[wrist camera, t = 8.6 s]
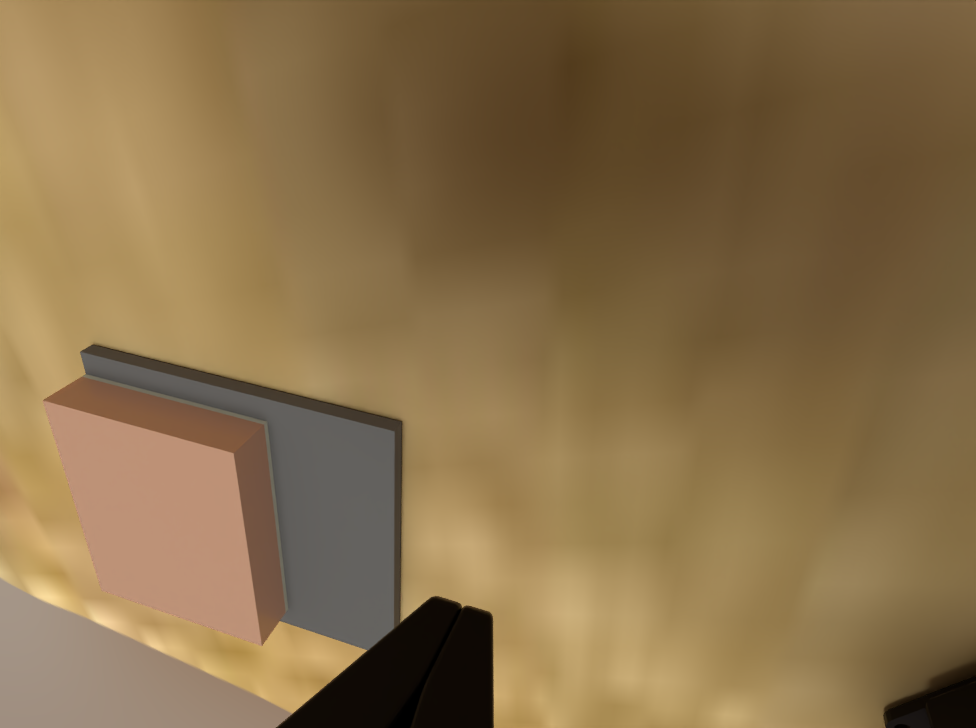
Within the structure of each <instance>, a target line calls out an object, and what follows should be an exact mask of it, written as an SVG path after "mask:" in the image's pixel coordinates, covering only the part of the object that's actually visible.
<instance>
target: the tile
mask: <svg viewBox="0 0 976 728" xmlns="http://www.w3.org/2000/svg"><path fill="white" fill-rule="evenodd" d="M43 403H44V406H45V410H46V413H47V416H48V419H49V423H50V426H51V429H52V432H53V436H54V439H55V442H56V445H57V448H58V452H59V455H60V458H61V461H62V465H63V468H64V471H65V474H66V477H67V481H68V484H69V487H70V490H71V494H72V497H73V500H74V503H75V507H76V510H77V513H78V516H79V519H80V523H81V526H82V529H83V532H84V536H85V539H86V542H87V545H88V548H89V552H90V555H91V558H92V561H93V565H94V568H95V571H96V574H97V578H98V581H99V584H100V587H101V590H102V591H104V592H107V593H110V594H113V595H116V596H119V597H122V598H124V599H127V600H130V601H133V602H136V603H139V604H142V605H145V606H148V607H151V608H153V609H156V610H159V611H162V612H165V613H168V614H171V615H174V616H177V617H179V618H182V619H185V620H188V621H191V622H194V623H197V624H200V625H203V626H205V627H208V628H211V629H214V630H217V631H220V632H223V633H226V634H229V635H231V636H234V637H237V638H240V639H243V640H246V641H249V642H252V643H255V644H258V645H260V646H262V645H263V644H264V642H265V641H266V640H267V638H268V637H269V635H270V634H271V632H272V631H273V630H274V628H275V627H276V625H277V624H278V623H279V621H280V620H281V618H282V617H283V616H284V614H285V613H286V611H287V610H288V602H287V593H286V584H285V575H284V567H283V558H282V549H281V540H280V531H279V522H278V513H277V504H276V495H275V486H274V477H273V468H272V459H271V451H270V442H269V433H268V424H267V421H263V420H259V419H255V418H252V417H248V416H244V415H240V414H236V413H233V412H229V411H225V410H221V409H217V408H213V407H210V406H206V405H202V404H198V403H194V402H191V401H187V400H183V399H179V398H175V397H171V396H168V395H164V394H160V393H156V392H152V391H148V390H145V389H141V388H137V387H133V386H129V385H126V384H122V383H118V382H114V381H110V380H106V379H103V378H99V377H95V376H91V375H87V374H85V375H84V376H82V377H81V378H79V379H77V380H76V381H74V382H72V383H71V384H69V385H67V386H66V387H64V388H62V389H61V390H59V391H57V392H56V393H54V394H52V395H51V396H49V397H47V398H46V399H44V400H43Z"/></svg>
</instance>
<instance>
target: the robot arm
mask: <svg viewBox="0 0 976 728" xmlns="http://www.w3.org/2000/svg"><path fill="white" fill-rule="evenodd" d="M883 716H884V722H885V727H886V728H976V676H975V677H973V678H970V679H968V680H965V681H962V682H960V683H957V684H955V685H952V686H949V687H947V688H944V689H942V690H939V691H936V692H934V693H931V694H928V695H926V696H923V697H921V698H918V699H915V700H913V701H910V702H908V703H905V704H902V705H900V706H897V707H895V708H892V709H889V710H888V711H886V712H885V713H884V715H883ZM276 728H494V695H493V616H492V614H491V613H490V612H488V611H485V610H482V609H478V608H475V607H472V606H464V607H463V608H462V605H461V604H460V603H458V602H455V601H452V600H449V599H446V598H442V597H439V596H434V597H431V598H430V599H428V600H427V601H426V602H425V603H423V604H422V605H421V606H420V607H419V608H418V609H416V610H415V611H414V612H413V613H412V614H410V615H409V616H408V617H407V618H406V619H404V620H403V621H402V622H401V623H400V624H399V625H397V626H396V627H395V628H394V629H393V630H391V631H390V632H389V633H388V634H387V635H385V636H384V637H383V638H382V639H381V640H380V641H378V642H377V643H376V644H375V645H374V646H372V647H371V648H370V649H369V650H368V651H366V652H365V653H364V654H363V655H362V656H361V657H359V658H358V659H357V660H356V661H355V662H353V663H352V664H351V665H350V666H349V667H347V668H346V669H345V670H344V671H343V672H342V673H340V674H339V675H338V676H337V677H336V678H334V679H333V680H332V681H331V682H330V683H328V684H327V685H326V686H325V687H324V688H323V689H321V690H320V691H319V692H318V693H317V694H315V695H314V696H313V697H312V698H311V699H309V700H308V701H307V702H306V703H305V704H304V705H302V706H301V707H300V708H299V709H298V710H296V711H295V712H294V713H293V714H292V715H291V716H290V717H288V718H287V719H286V720H285V721H283V722H282V723H281V724H280V725H279V726H278V727H276Z"/></svg>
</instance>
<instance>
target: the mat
mask: <svg viewBox="0 0 976 728" xmlns="http://www.w3.org/2000/svg"><path fill="white" fill-rule="evenodd" d="M80 353H81V357H82V361H83V365H84V368H85V372H86V374H87V375H91V376H95V377H99V378H103V379H106V380H110V381H114V382H118V383H122V384H126V385H129V386H133V387H137V388H141V389H145V390H148V391H152V392H156V393H160V394H164V395H168V396H171V397H175V398H179V399H183V400H187V401H191V402H194V403H198V404H202V405H206V406H210V407H213V408H217V409H221V410H225V411H229V412H233V413H236V414H240V415H244V416H248V417H252V418H255V419H259V420H263V421H267V424H268V433H269V442H270V451H271V459H272V468H273V477H274V486H275V495H276V504H277V513H278V522H279V531H280V540H281V549H282V558H283V567H284V575H285V584H286V593H287V602H288V610H287V611H286V613H285V614H284V616H283V617H282V618H281V620H280V621H282V622H285V623H288V624H291V625H294V626H297V627H300V628H303V629H306V630H309V631H312V632H315V633H318V634H321V635H324V636H327V637H330V638H333V639H336V640H339V641H342V642H345V643H348V644H351V645H354V646H357V647H360V648H363V649H366V650H369V649H370V648H371V647H372V646H374V645H375V644H376V643H377V642H378V641H380V640H381V639H382V638H383V637H384V636H385V635H387V634H388V633H389V632H390V631H391V630H393V629H394V628H395V627H396V626H397V625H399V624H400V547H401V447H402V422H400V421H396V420H392V419H388V418H384V417H380V416H376V415H372V414H368V413H364V412H360V411H356V410H352V409H348V408H344V407H340V406H336V405H332V404H328V403H324V402H320V401H316V400H312V399H308V398H304V397H300V396H296V395H292V394H288V393H284V392H280V391H276V390H272V389H268V388H264V387H260V386H256V385H252V384H248V383H244V382H240V381H236V380H232V379H228V378H224V377H220V376H216V375H212V374H208V373H204V372H200V371H195V370H191V369H187V368H183V367H179V366H175V365H171V364H167V363H163V362H159V361H155V360H151V359H147V358H143V357H139V356H135V355H131V354H127V353H123V352H119V351H115V350H111V349H107V348H103V347H99V346H95V345H91V346H89V347H88V348H86V349H84V350H82V351H81V352H80Z"/></svg>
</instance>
